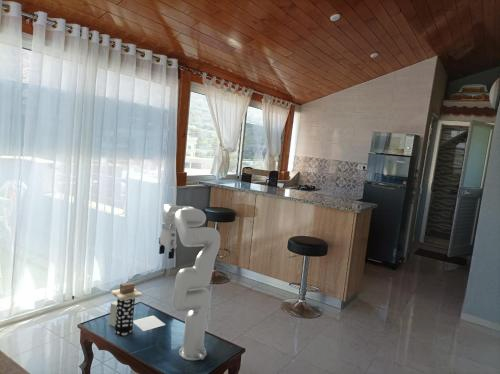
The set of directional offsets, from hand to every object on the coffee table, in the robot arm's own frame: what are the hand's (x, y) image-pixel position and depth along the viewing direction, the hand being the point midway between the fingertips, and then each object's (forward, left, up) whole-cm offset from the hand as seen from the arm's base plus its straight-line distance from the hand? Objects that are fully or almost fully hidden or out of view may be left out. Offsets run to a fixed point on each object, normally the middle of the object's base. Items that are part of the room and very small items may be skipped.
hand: (166, 255), depth 200 cm
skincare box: (+2, +25, -34) cm, 43 cm away
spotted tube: (-8, +26, -34) cm, 44 cm away
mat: (-6, +11, -34) cm, 37 cm away
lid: (-8, +26, -14) cm, 31 cm away
